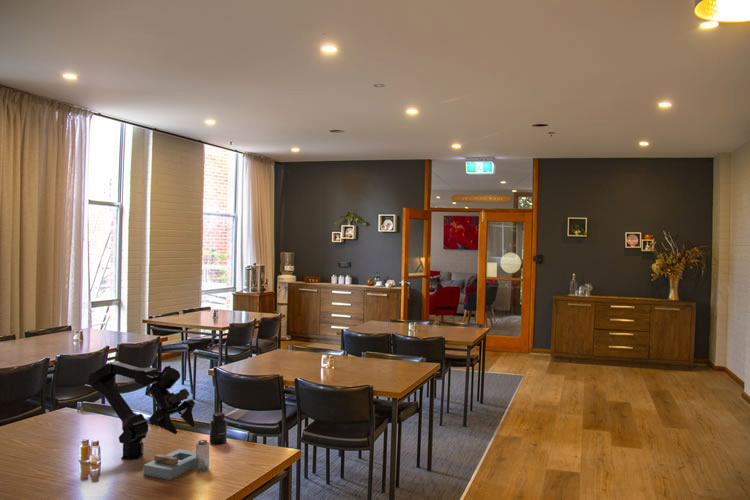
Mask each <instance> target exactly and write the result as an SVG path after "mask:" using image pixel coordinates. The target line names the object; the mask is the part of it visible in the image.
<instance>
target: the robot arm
mask: <svg viewBox="0 0 750 500" xmlns="http://www.w3.org/2000/svg"><path fill="white" fill-rule="evenodd" d="M117 375H119V376H122V377H125V378H129V379H132V380H133V381H134V382H135V383H136V384H138V385H140V386H142V387H146V386H149V385H150V386H149V387H146V388H145V389H146V390H145V393H144V395H145V396H149V395H150V396H151V397H152V398H153V400H154V402H155V404H154V405H155V407H156V408H158V407H159V409H157V410H155V411H154V413H153V414H152V415H151V416H150V417H149V423H150V424H151V426H155V427H159V428H161V429H164V430H166V431H168V432H170V433H172V434H174V435H177V434H178V431H177V428H176V426H175V425H174V423H173V421H172V420H171V415H174V414H177V413H178V414H179V416H180V418H181V419H183V421H184V422H186V423H187V425H189V426H190V427H192V428H194V427H195V425H196V424H195V420H194V416H193V408H194V407H195V405H196V402H195V401H194V399H193V398H188V397H189V396H190V393H189V391H188V389H187V388H182V389H180V390H179V392H176V393H174V392H170V391H169V390H170V389H171V388H172V387H174V385H175V384H176V383H177V382H178V381H179V379H180V378H181V373H180V371H179V370H177V369H175V368H173V367H171V365H167V366H165V367H164V368H163V370H162V371H160V370H159V369H158V368H155V367H137V366H135V365H130V364H127V363H123V362H120V361H118V360H114V361H110V362H107V363H106V364H105V365H103V366H102V367H101V368H99V369H97V370H95V371H94V372H92V373H90V374H89V376H88V378H87V379H88V384H89V386H90V387H91V388H92V389H93V390H94V391H96V392H98V393H100V394H102V396H103V397H104V398H105V399H106V401H107V402H108V404H109V405H110V407H111V408H112V409H113V411H114V412H115V413H116V415H117V416H118V418H119V419H120V420H121V430H122V433H121V434H119V437H118V442H119V443H121V444H122V456H121V458H120V459H121V460H137V459H141V457H142V456H143V454H144V450H145V449H144V445H145V444H144V442H143V439H146V438H147V434H148V432H149V423H148V420H147V419H146V418H145V416H144V414H142V413H139V414H136V413H134V411H133V409H131V407H130V406H129V404H128V403H127V401H125V399H124V398H123V396H122V394H120V391H118V389H117V387H116V386H115V385H116V383H115V377H116V376H117ZM182 401H183V402H182Z"/></svg>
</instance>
